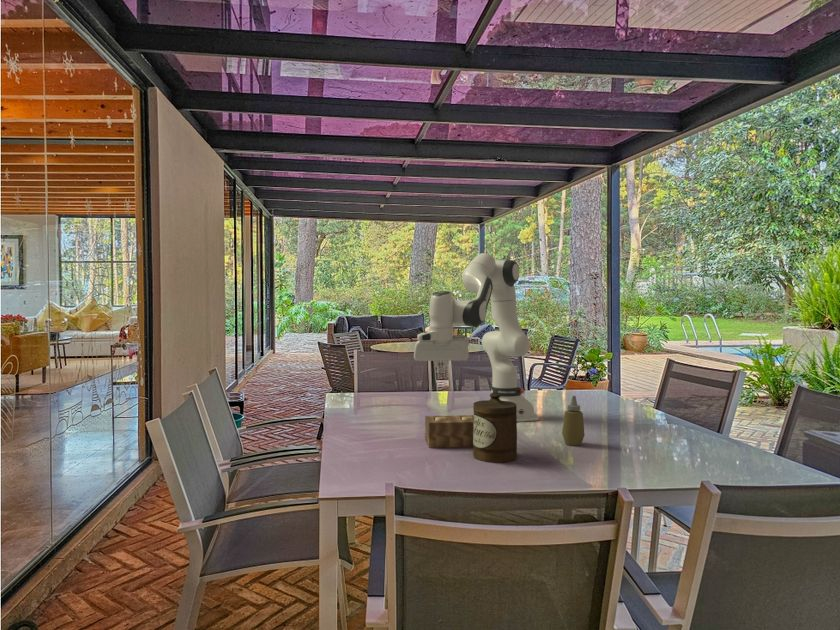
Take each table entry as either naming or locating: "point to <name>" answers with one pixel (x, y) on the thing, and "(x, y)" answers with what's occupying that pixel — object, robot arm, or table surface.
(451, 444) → the socket block
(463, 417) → the peg
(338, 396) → the table surface
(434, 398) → the table surface
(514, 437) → the wooden container
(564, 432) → the squeeze bottle
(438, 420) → the peg
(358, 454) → the table surface
